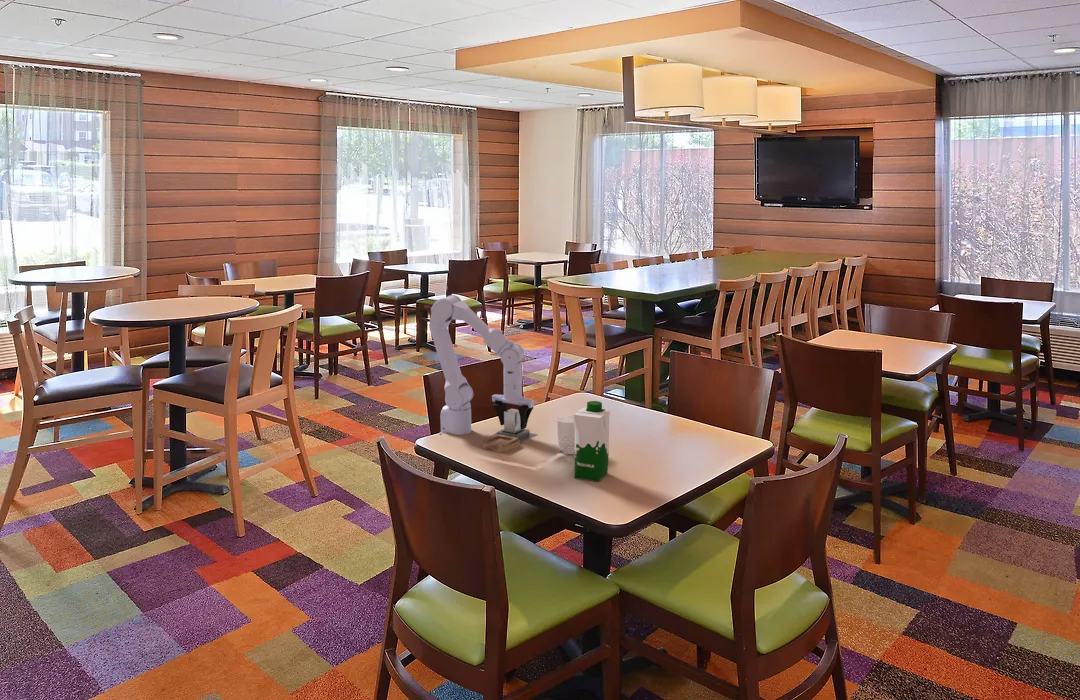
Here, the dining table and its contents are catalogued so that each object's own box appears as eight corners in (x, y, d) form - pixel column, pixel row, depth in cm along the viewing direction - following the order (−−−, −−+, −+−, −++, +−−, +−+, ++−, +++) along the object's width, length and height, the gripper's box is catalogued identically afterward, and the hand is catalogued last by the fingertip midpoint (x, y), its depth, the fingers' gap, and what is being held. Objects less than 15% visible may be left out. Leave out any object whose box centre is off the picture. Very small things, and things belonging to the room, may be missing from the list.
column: (503, 436, 245) (503, 411, 244) (511, 432, 249) (511, 408, 247) (515, 438, 243) (514, 413, 241) (522, 434, 246) (522, 410, 245)
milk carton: (611, 472, 216) (612, 402, 212) (600, 483, 208) (601, 411, 204) (581, 468, 220) (582, 399, 216) (569, 478, 212) (570, 407, 208)
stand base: (488, 439, 245) (488, 432, 244) (506, 431, 253) (506, 424, 253) (520, 446, 239) (520, 438, 238) (537, 437, 247) (537, 429, 247)
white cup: (581, 456, 230) (581, 423, 228) (554, 454, 231) (554, 421, 229) (585, 447, 237) (585, 415, 235) (559, 446, 239) (559, 414, 237)
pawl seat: (482, 451, 234) (482, 441, 233) (497, 444, 241) (497, 433, 240) (504, 456, 230) (504, 445, 229) (519, 448, 237) (519, 438, 236)
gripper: (539, 384, 242) (539, 426, 245) (500, 378, 250) (501, 419, 252) (527, 389, 236) (527, 432, 239) (487, 383, 244) (488, 425, 246)
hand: (513, 426), depth 245 cm, fingers open, 7 cm apart
